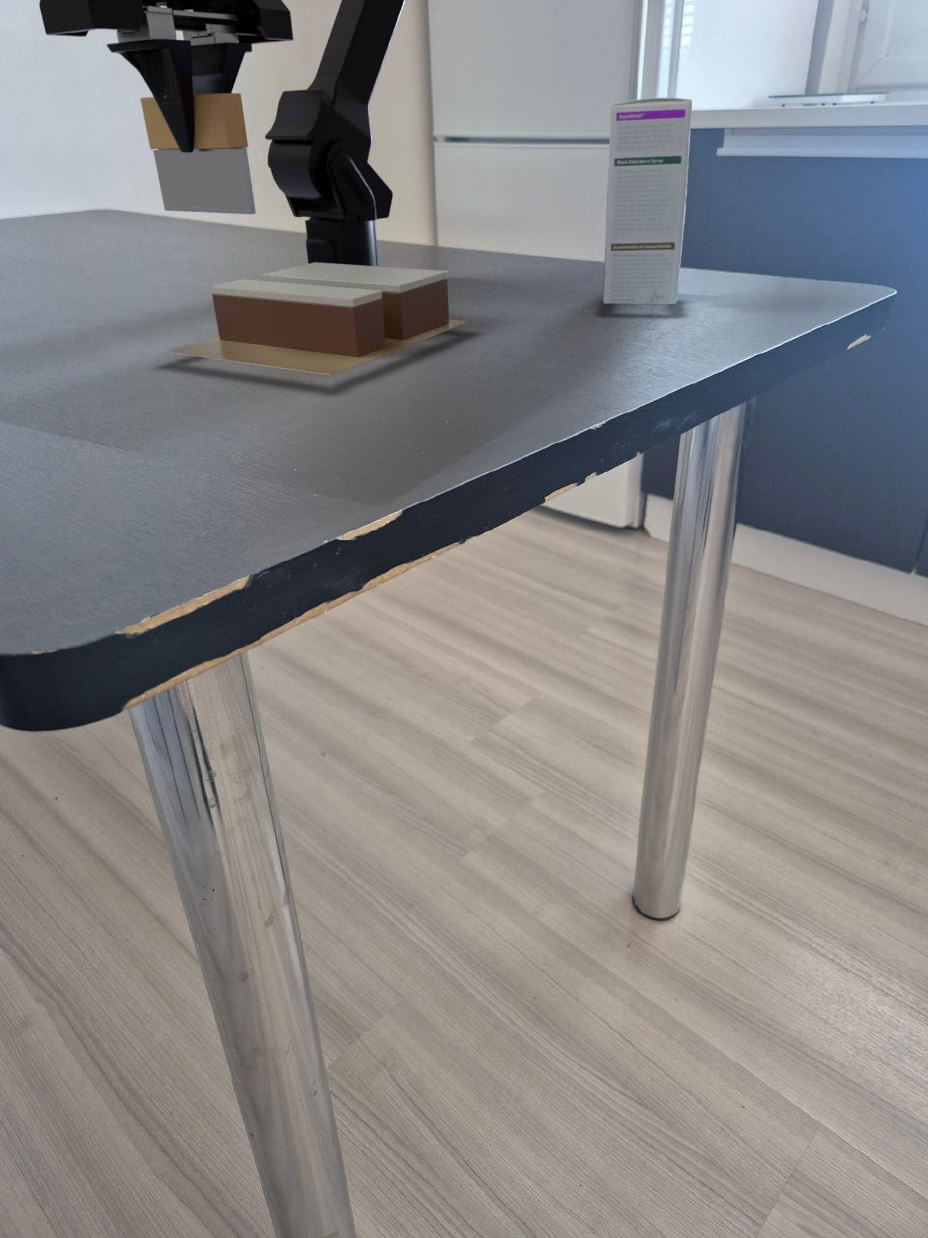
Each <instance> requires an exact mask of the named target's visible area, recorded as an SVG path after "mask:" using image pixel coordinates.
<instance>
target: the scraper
mask: <svg viewBox="0 0 928 1238" xmlns="http://www.w3.org/2000/svg"><path fill="white" fill-rule="evenodd" d="M193 102H194V124H195V136H194V151H193V152H191V153H183V152H181V150H180V149H179V147H178V145H177V143H176V141H175V139H174V137H173V135H172V133H171V131H170V129H169V127H168V125H167V123H166V121H165V119H164V117H163V115H162V113H161V111H160V109H159V106H158V104H157V103H156V101H155V99H154V97H153V96H146V97H141V98H140V104H141V110H142V114H143V119H144V125H145V129H146V135H147V139H148V144H149V149H150V150H152V151H153V156H154V161H155V167H156V172H157V177H158V182H159V187H160V192H161V196H162V197H161V198H162V203H163V208H164V211H167V212H189V213H208V214H209V213H210V214H211V213H212V214H231V215H232V214H235V215H237V214H238V215H255V214H256V213H257V211H256V205H255V198H254V191H253V184H252V177H251V170H250V163H249V155H248V149H247V148H248V147H249V143H248V135H247V129H246V121H245V115H244V114H245V113H244V107H243V99H242V94H241V93H240V92H232V93H219V94H200V95H193Z"/></svg>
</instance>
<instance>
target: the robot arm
mask: <svg viewBox="0 0 928 1238" xmlns="http://www.w3.org/2000/svg"><path fill="white" fill-rule="evenodd" d="M405 2H406V0H341V1H340V4H339V7H338V10H337V12H336V16H335V18H334V21H333V24H332V27H331V29H330V30H331V31H330V34H329V36H328V39H327V41H326V44H325V47H324V51H323V54H322V56H321V60H320V62H319V65H318V69H317V71H316V74H315V76H314V78H313V81H312V82H311V83H310V85H309V86H308V87H307V88H306V89H295V90H284V91H283V92H282V93H281V95H280V98H279V100H278V104H277V109H276V114H275V119H274V122H273V124H272V126H271V128H270V129H269V130H268V132H267V133H266V134H265V135H264V138H265V140H266V141H271V142H270V143H269V147H268V153H267V167H268V168H269V169H270V172H271V176H272V178H273V179H272V180H273V181H274V182H275V184H276V186H277V187H278V190H280V191H281V192H282V193H283V194H284V197H285V199H286V201H287V203H288V206H289V208H290V211H291V213H292V216H293V217H294V218H308V219H306V220H304V224H305V233H306V240H305V250H306V257H307V264H310V263H315V262H316V263H331V264H346V265H361V266H377V267H380V265H379V251H378V239H377V238H378V237H377V236H378V235H377V224H376V221H377V220H381V219H382V220H383V219H388V218H389V217H390V214H391V208H392V204H393V203H392V202H393V197H394V193H393V191H392V189H391V188H390V187H389V185H388V184H387V183H386V182H385V181H384V180H383V178H382V177H381V176H380V175H379V174H378V173H377V172H376V171H375V169H374V168H373V167H372V165H370V163H369V157H370V153H371V149H372V145H373V144H372V143H373V138H372V130H371V128H372V127H371V120H370V112H369V107H370V102H371V99H372V97H373V93H374V91H375V87H376V84H377V82H378V80H379V77H380V73H381V70H382V67H383V65H384V61H385V59H386V57H387V53H388V51H389V49H390V45H391V42H392V40H393V36H394V33H395V31H396V29H397V25H398V22H399V19H400V17H401V14H402V11H403V8H404V6H405ZM38 6H39V11H40V15H41V19H42V24H43V28H44V31H45V35H47V36H57V37H58V36H59V37H77V38H82V37H83V38H84V37H87V35H88V34H89V32H90V31H94V30H111V31H115V33H116V37H117V42H113V43H106V47H107V49H108V50H109V51H110V53H112V54H119V55H120V56H121V57H123V59H125V60H126V61H127V62H128V63H129V64H130V65H131V66H132V67H134V69H136V71H137V72H138V73H139V74H140V76H141V78H142V79H143V81H144V82H145V83H144V84H146V86H147V88H148V89H149V91H150V93H151V95H152V97H154V99H155V101H156V103H157V104H158V106H159V109H160V111H161V113H162V115H163V117H164V119H165V121H166V123H167V125H168V127H169V129H170V131H171V133H172V135H173V137H174V139H175V141H176V143H177V145H178V147H179V149H180V150H181V152H183V153H191V152H193V151H194V136H195V124H194V102H193V95H200V94H219V93H233V90H234V86H235V83H236V81H237V78H238V74H239V73H240V69H241V66H242V64H243V61H244V58H245V55H246V53H247V54H248V53H252V52H253V45H260V44H270V43H280V42H281V43H282V42H292V41H294V34H293V23H292V14H291V10H290V9H289V8H288V7H287V4H286V3H284V1H283V0H39V3H38ZM176 32H182V37H183V39H178V37H177V33H176Z"/></svg>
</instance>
